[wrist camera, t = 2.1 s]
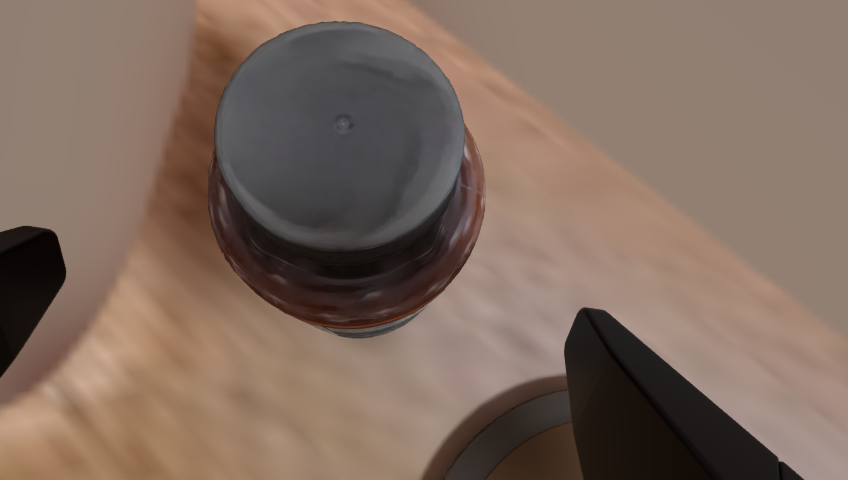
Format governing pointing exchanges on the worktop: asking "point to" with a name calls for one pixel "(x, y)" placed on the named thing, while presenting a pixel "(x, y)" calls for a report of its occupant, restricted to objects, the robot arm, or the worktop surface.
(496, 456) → the coaster
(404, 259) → the supplement bottle
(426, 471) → the worktop surface
